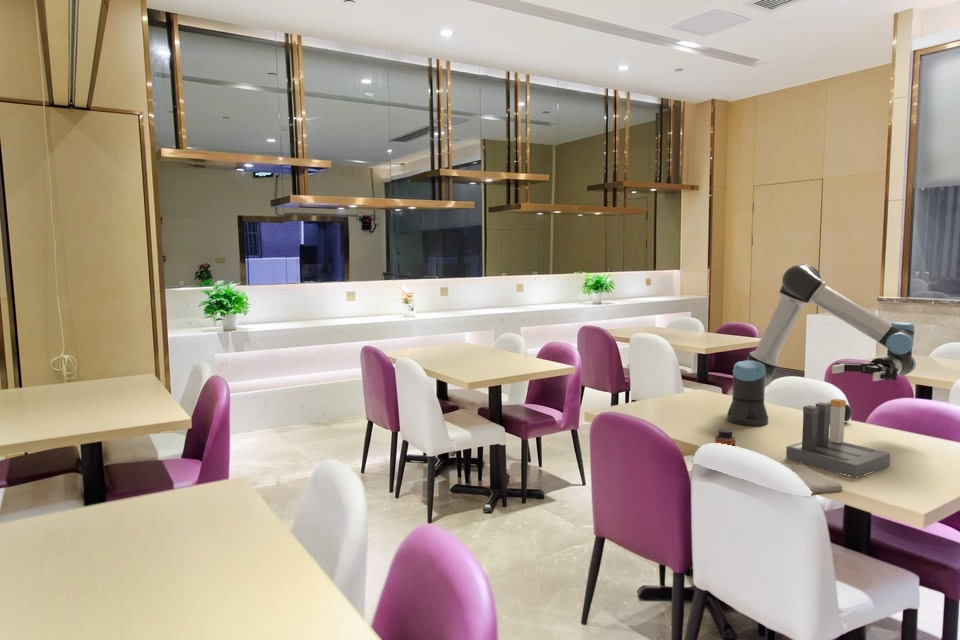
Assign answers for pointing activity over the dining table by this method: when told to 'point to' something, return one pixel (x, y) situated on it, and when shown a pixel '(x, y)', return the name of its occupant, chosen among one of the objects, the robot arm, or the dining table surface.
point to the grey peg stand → (832, 447)
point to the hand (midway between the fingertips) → (852, 373)
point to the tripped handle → (837, 420)
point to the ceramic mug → (847, 412)
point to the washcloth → (816, 480)
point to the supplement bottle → (725, 437)
